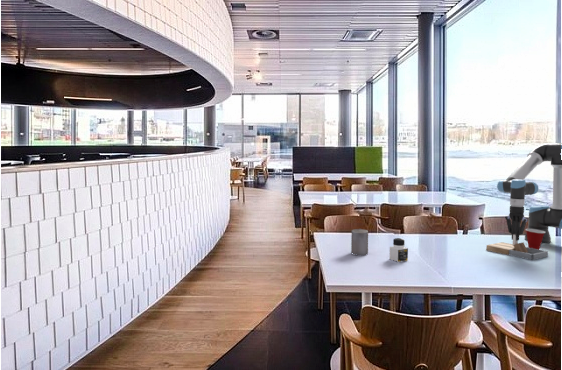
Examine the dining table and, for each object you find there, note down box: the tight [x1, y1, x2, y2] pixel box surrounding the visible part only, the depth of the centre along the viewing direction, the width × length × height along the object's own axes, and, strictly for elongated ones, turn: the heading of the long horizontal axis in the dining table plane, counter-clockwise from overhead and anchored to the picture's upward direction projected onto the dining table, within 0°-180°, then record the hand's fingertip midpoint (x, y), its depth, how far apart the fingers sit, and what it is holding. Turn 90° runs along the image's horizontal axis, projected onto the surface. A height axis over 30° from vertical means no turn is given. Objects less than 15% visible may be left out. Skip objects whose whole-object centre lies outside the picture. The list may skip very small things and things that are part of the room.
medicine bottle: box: [388, 237, 409, 263], centre depth 250 cm, size 7×7×12 cm
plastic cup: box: [524, 228, 545, 250], centre depth 275 cm, size 11×11×12 cm
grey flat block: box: [508, 246, 549, 261], centre depth 260 cm, size 15×14×3 cm
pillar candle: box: [350, 228, 369, 256], centre depth 263 cm, size 10×10×15 cm
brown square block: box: [513, 241, 528, 253], centre depth 263 cm, size 6×6×3 cm
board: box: [486, 242, 516, 256], centre depth 272 cm, size 16×14×3 cm
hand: (515, 245), depth 266 cm, fingers closed
